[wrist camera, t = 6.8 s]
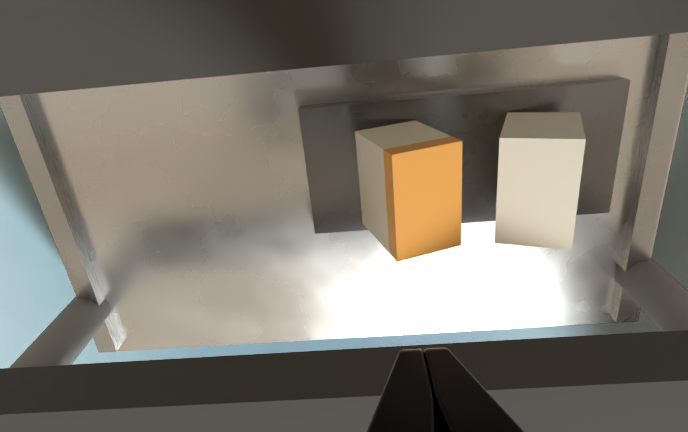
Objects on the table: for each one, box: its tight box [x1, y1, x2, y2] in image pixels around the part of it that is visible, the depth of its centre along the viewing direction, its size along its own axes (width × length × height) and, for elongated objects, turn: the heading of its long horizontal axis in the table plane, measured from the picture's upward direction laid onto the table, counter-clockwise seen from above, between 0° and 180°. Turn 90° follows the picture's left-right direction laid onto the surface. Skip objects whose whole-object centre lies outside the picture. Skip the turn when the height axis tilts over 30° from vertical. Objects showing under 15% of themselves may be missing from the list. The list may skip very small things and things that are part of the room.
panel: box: [0, 32, 688, 352], centre depth 18 cm, size 24×16×2 cm, turn 95°
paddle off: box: [355, 120, 463, 262], centre depth 15 cm, size 2×3×3 cm, turn 5°
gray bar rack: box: [0, 0, 688, 432], centre depth 15 cm, size 25×13×8 cm, turn 95°
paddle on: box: [494, 112, 586, 250], centre depth 15 cm, size 2×3×3 cm, turn 5°
